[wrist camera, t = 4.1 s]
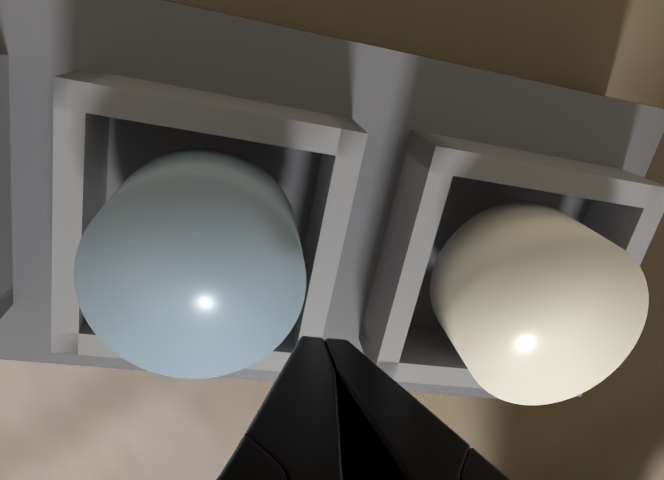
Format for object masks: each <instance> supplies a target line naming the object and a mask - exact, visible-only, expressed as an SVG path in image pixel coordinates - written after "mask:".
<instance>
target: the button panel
mask: <svg viewBox="0 0 664 480" xmlns="http://www.w3.org/2000/svg"><path fill="white" fill-rule="evenodd" d="M663 133H664V109H662V108H657V107H652V106H648V105H643V104H639V103H634V102H629V101H625V100H620V99H616V98H611V97H606V96H602V95H597V94H593V93H588V92H583V91H579V90H574V89H570V88H565V87H560V86H556V85H551V84H547V83H542V82H537V81H533V80H528V79H524V78H519V77H514V76H510V75H505V74H501V73H496V72H491V71H487V70H482V69H478V68H473V67H468V66H464V65H459V64H455V63H450V62H445V61H441V60H436V59H432V58H427V57H422V56H418V55H413V54H409V53H404V52H399V51H395V50H390V49H386V48H381V47H376V46H372V45H367V44H363V43H358V42H353V41H349V40H344V39H340V38H335V37H330V36H326V35H321V34H317V33H312V32H307V31H303V30H298V29H294V28H289V27H284V26H280V25H275V24H270V23H266V22H261V21H257V20H252V19H248V18H243V17H238V16H234V15H229V14H224V13H220V12H215V11H211V10H206V9H201V8H197V7H192V6H188V5H183V4H178V3H174V2H169V1H165V0H0V359H6V360H18V361H30V362H43V363H55V364H68V365H80V366H93V367H105V368H118V369H130V370H143V371H148V370H145V369H142V368H140V367H138V366H136V365H134V364H132V363H130V362H128V361H126V360H125V359H123V358H122V357H120V356H119V355H117V354H116V353H115V352H113V351H112V350H111V349H110V348H108V347H107V346H106V345H105V344H104V343H103V342H102V341H101V340H100V339H99V338H98V337H97V335H96V334H95V333H94V331H93V330H92V329H91V327H90V326H89V325H88V323H87V321H86V319H85V317H84V315H83V314H82V312H81V309H80V306H79V303H78V301H77V297H76V292H75V288H74V274H73V271H74V261H75V256H76V252H77V248H78V245H79V242H80V240H81V238H82V236H83V233H84V231H85V230H86V228H87V227H88V225H89V224H90V222H91V221H92V219H93V218H94V217H95V216H96V214H97V213H98V212H99V211H100V210H101V208H102V207H103V206H104V205H105V204H106V203H107V201H108V200H109V199H110V198H111V197H112V195H113V194H114V193H115V192H116V191H117V190H118V188H119V187H120V186H121V185H122V184H123V182H124V181H125V180H126V179H127V178H128V177H129V176H130V175H131V173H133V172H134V171H135V170H136V169H137V168H139V167H140V166H141V165H143V164H144V163H146V162H147V161H149V160H151V159H152V158H155V157H157V156H159V155H161V154H164V153H167V152H170V151H174V150H178V149H184V148H198V147H204V148H214V149H219V150H224V151H228V152H231V153H234V154H237V155H239V156H242V157H244V158H246V159H248V160H250V161H251V162H253V163H255V164H256V165H258V166H259V167H261V168H262V169H263V170H265V171H266V172H267V173H268V174H269V175H270V176H271V177H272V178H273V179H274V180H275V181H276V182H277V183H278V185H279V186H280V187H281V189H282V190H283V192H284V193H285V195H286V196H287V198H288V200H289V202H290V204H291V206H292V209H293V212H294V216H295V219H296V224H297V228H298V233H299V238H300V243H301V248H302V253H303V257H304V263H305V269H306V292H305V299H304V302H303V306H302V310H301V312H300V314H299V317H298V319H297V321H296V323H295V325H294V326H293V328H292V330H291V331H290V333H289V334H288V335H287V336H286V338H285V339H284V340H283V341H282V343H281V344H280V345H278V346H277V347H276V348H275V349H274V350H273V351H272V352H271V353H269V354H268V355H267V356H265V357H264V358H263V359H261V360H260V361H258V362H256V363H254V364H253V365H251V366H249V367H246V368H244V369H242V370H239V371H237V372H233V373H230V374H227V375H223V376H218V377H230V378H243V379H255V380H268V381H276V379H277V377H278V375H279V374H280V372H281V370H282V368H283V367H284V365H285V363H286V361H287V360H288V358H289V356H290V354H291V352H292V351H293V349H294V347H295V345H296V344H297V342H298V340H299V339H300V337H302V336H311V337H321V338H323V339H324V340H325V339H327V338H334V339H345V340H348V341H349V342H350V343H351V344H353V345H354V346H355V347H356V348H357V349H358V350H360V351H361V352H362V353H363V354H364V355H365V356H367V357H368V358H369V359H370V360H371V361H372V362H374V363H375V364H376V365H377V366H378V367H379V368H381V369H382V370H383V371H384V372H385V373H386V374H388V375H389V376H390V377H391V378H392V379H393V380H395V381H396V382H397V383H398V384H399V385H400V386H402V387H403V388H404V389H405V390H406V391H407V392H418V393H430V394H443V395H455V396H468V397H480V398H493V399H499V398H497V397H495V396H493V395H491V394H490V393H488V392H487V391H486V390H484V389H483V388H482V387H481V386H480V385H479V384H478V383H477V381H476V380H475V379H474V378H473V376H472V375H471V373H470V371H469V370H468V368H467V367H466V365H465V363H464V362H463V360H462V358H461V357H460V355H459V354H458V352H457V350H456V349H455V347H454V346H453V344H452V342H451V341H450V339H449V337H448V336H447V334H446V333H445V331H444V329H443V328H442V326H441V325H440V323H439V321H438V319H437V318H436V316H435V314H434V311H433V308H432V304H431V300H430V279H431V275H432V270H433V267H434V264H435V262H436V259H437V257H438V255H439V253H440V251H441V249H442V248H443V246H444V245H445V243H446V242H447V240H448V239H449V238H450V237H451V236H452V235H453V233H454V232H455V231H456V230H457V229H458V228H460V227H461V226H462V225H463V224H464V223H465V222H467V221H468V220H469V219H471V218H472V217H474V216H475V215H477V214H479V213H481V212H482V211H484V210H487V209H489V208H491V207H494V206H497V205H500V204H504V203H509V202H515V201H533V202H539V203H543V204H547V205H550V206H552V207H555V208H557V209H558V210H560V211H562V212H563V213H565V214H566V215H568V216H570V217H571V218H573V219H575V220H576V221H578V222H580V223H581V224H583V225H585V226H586V227H588V228H590V229H591V230H593V231H595V232H596V233H598V234H599V235H601V236H603V237H604V238H606V239H608V240H609V241H611V242H613V243H614V244H616V245H618V246H619V247H621V248H623V249H624V250H625V251H627V252H628V253H629V254H630V255H631V256H632V257H633V258H634V259H635V260H636V262H637V263H638V264H639V266H640V265H641V262H642V260H643V258H644V256H645V254H646V251H647V249H648V247H649V245H650V242H651V240H652V238H653V236H654V234H655V231H656V229H657V227H658V225H659V222H660V220H661V218H662V216H663V213H664V185H662V184H659V183H657V182H654V181H652V180H649V179H646V178H645V176H646V173H647V171H648V169H649V166H650V164H651V161H652V159H653V157H654V154H655V152H656V150H657V147H658V145H659V143H660V140H661V138H662V136H663ZM582 394H583V393H582ZM582 394H579V395H577V396H576V397H581V396H582Z"/></svg>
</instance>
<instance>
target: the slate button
mask: <svg viewBox="0 0 664 480" xmlns="http://www.w3.org/2000/svg"><path fill="white" fill-rule="evenodd" d="M73 274H74V288H75V292H76V297H77V301H78V303H79V306H80V309H81V312H82V314H83V315H84V317H85V319H86V321H87V323H88V325H89V326H90V327H91V329H92V330H93V331H94V333H95V334H96V335H97V337H98V338H99V339H100V340H101V341H102V342H103V343H104V344H105V345H106V346H107V347H108V348H110V349H111V350H112V351H113V352H115V353H116V354H117V355H119V356H120V357H122V358H123V359H125V360H126V361H128V362H130V363H132V364H134V365H136V366H138V367H140V368H142V369H145V370H148V371H150V372H153V373H156V374H160V375H165V376H169V377H176V378H186V379H201V378H212V377H217V376H223V375H227V374H230V373H233V372H237V371H239V370H242V369H244V368H246V367H249V366H251V365H253V364H254V363H256V362H258V361H260V360H261V359H263V358H264V357H265V356H267V355H268V354H269V353H271V352H272V351H273V350H274V349H275V348H276V347H277V346H278V345H280V344H281V343H282V341H283V340H284V339H285V338H286V336H287V335H288V334H289V333H290V331H291V330H292V328H293V326H294V325H295V323H296V321H297V319H298V317H299V314H300V312H301V310H302V306H303V302H304V299H305V292H306V269H305V263H304V257H303V253H302V248H301V243H300V238H299V233H298V228H297V224H296V219H295V216H294V212H293V209H292V206H291V204H290V202H289V200H288V198H287V196H286V195H285V193H284V192H283V190H282V189H281V187H280V186H279V185H278V183H277V182H276V181H275V180H274V179H273V178H272V177H271V176H270V175H269V174H268V173H267V172H266V171H265V170H263V169H262V168H261V167H259V166H258V165H256V164H255V163H253V162H251V161H250V160H248V159H246V158H244V157H242V156H239V155H237V154H234V153H231V152H228V151H224V150H219V149H214V148H204V147H198V148H184V149H178V150H174V151H170V152H167V153H164V154H161V155H159V156H157V157H155V158H152V159H151V160H149V161H147V162H146V163H144V164H143V165H141V166H140V167H139V168H137V169H136V170H135V171H134V172H133V173H131V175H130V176H129V177H128V178H127V179H126V180H125V181H124V182H123V184H122V185H121V186H120V187H119V188H118V190H117V191H116V192H115V193H114V194H113V195H112V197H111V198H110V199H109V200H108V201H107V203H106V204H105V205H104V206H103V207H102V208H101V210H100V211H99V212H98V213H97V214H96V216H95V217H94V218H93V219H92V221H91V222H90V224H89V225H88V227H87V228H86V230H85V231H84V233H83V236H82V238H81V240H80V242H79V245H78V248H77V252H76V256H75V261H74V271H73Z"/></svg>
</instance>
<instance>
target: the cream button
mask: <svg viewBox="0 0 664 480" xmlns="http://www.w3.org/2000/svg"><path fill="white" fill-rule="evenodd" d="M430 300H431V304H432V308H433V311H434V314H435V316H436V318H437V319H438V321H439V323H440V325H441V326H442V328H443V329H444V331H445V333H446V334H447V336H448V337H449V339H450V341H451V342H452V344H453V346H454V347H455V349H456V350H457V352H458V354H459V355H460V357H461V358H462V360H463V362H464V363H465V365H466V367H467V368H468V370H469V371H470V373H471V375H472V376H473V378H474V379H475V380H476V381H477V383H478V384H479V385H480V386H481V387H482V388H483V389H484V390H486V391H487V392H488V393H490V394H491V395H493V396H495V397H497V398H499V399H501V400H503V401H506V402H510V403H514V404H520V405H546V404H551V403H556V402H560V401H564V400H567V399H570V398H572V397H575V396H577V395H579V394H582V393H583V392H585V391H587V390H589V389H591V388H593V387H594V386H596V385H597V384H599V383H600V382H602V381H603V380H604V379H605V378H607V377H608V376H609V375H610V374H612V373H613V372H614V371H615V370H616V369H617V368H618V367H619V366H620V365H621V364H622V362H623V361H624V360H625V359H626V358H627V356H628V355H629V354H630V352H631V351H632V349H633V348H634V346H635V345H636V343H637V341H638V339H639V337H640V335H641V333H642V330H643V328H644V325H645V321H646V318H647V313H648V306H649V292H648V286H647V282H646V279H645V276H644V273H643V271H642V269H641V268H640V266H639V264H638V263H637V262H636V260H635V259H634V258H633V257H632V256H631V255H630V254H629V253H628V252H627V251H625V250H624V249H623V248H621V247H619V246H618V245H616V244H614V243H613V242H611V241H609V240H608V239H606V238H604V237H603V236H601V235H599V234H598V233H596V232H595V231H593V230H591V229H590V228H588V227H586V226H585V225H583V224H581V223H580V222H578V221H576V220H575V219H573V218H571V217H570V216H568V215H566V214H565V213H563V212H562V211H560V210H558V209H557V208H555V207H552V206H550V205H547V204H543V203H539V202H533V201H515V202H509V203H504V204H500V205H497V206H494V207H491V208H489V209H487V210H484V211H482V212H481V213H479V214H477V215H475V216H474V217H472V218H471V219H469V220H468V221H467V222H465V223H464V224H463V225H462V226H461V227H460V228H458V229H457V230H456V231H455V232H454V233H453V235H452V236H451V237H450V238H449V239H448V240H447V242H446V243H445V245H444V246H443V248H442V249H441V251H440V253H439V255H438V257H437V259H436V262H435V264H434V267H433V270H432V275H431V279H430Z"/></svg>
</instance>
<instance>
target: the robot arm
mask: <svg viewBox="0 0 664 480" xmlns="http://www.w3.org/2000/svg"><path fill="white" fill-rule="evenodd" d="M216 480H511V479H510V478H509V477H508V476H506V475H505V474H504V473H503V472H501V471H500V470H499V469H498V468H497V467H495V466H494V465H493V464H492V463H491V462H489V461H488V460H487V459H486V458H485V457H484V456H482V455H481V454H480V453H479V452H478V451H477V450H475V449H474V448H470V445H469V444H468V443H467V442H466V441H465V440H463V439H462V438H461V437H460V436H459V435H458V434H456V433H455V432H454V431H453V430H452V429H451V428H449V427H448V426H447V425H446V424H445V423H444V422H442V421H441V420H440V419H439V418H438V417H437V416H435V415H434V414H433V413H432V412H431V411H430V410H428V409H427V408H426V407H425V406H424V405H423V404H421V403H420V402H419V401H418V400H417V399H416V398H414V397H413V396H412V395H411V394H410V393H409V392H407V391H406V390H405V389H404V388H403V387H402V386H400V385H399V384H398V383H397V382H396V381H395V380H393V379H392V378H391V377H390V376H389V375H388V374H386V373H385V372H384V371H383V370H382V369H381V368H379V367H378V366H377V365H376V364H375V363H374V362H372V361H371V360H370V359H369V358H368V357H367V356H365V355H364V354H363V353H362V352H361V351H360V350H358V349H357V348H356V347H355V346H354V345H353V344H351V343H350V342H349V341H348V340H345V339H334V338H327V339H325V340H324V339H323V338H321V337H311V336H302V337H300V339H299V340H298V342H297V344H296V345H295V347H294V349H293V351H292V352H291V354H290V356H289V358H288V360H287V361H286V363H285V365H284V367H283V368H282V370H281V372H280V374H279V375H278V377H277V379H276V381H275V382H274V384H273V386H272V388H271V389H270V391H269V393H268V395H267V396H266V398H265V400H264V402H263V403H262V405H261V407H260V409H259V410H258V412H257V414H256V416H255V417H254V419H253V421H252V423H251V424H250V426H249V428H248V430H247V431H246V433H245V435H244V437H243V438H242V440H241V441H240V443H239V445H238V447H237V448H236V450H235V452H234V453H233V455H232V457H231V458H230V460H229V461H228V463H227V464H226V466H225V468H224V469H223V471H222V472H221V474H220V475H219V477H218V478H217V479H216Z"/></svg>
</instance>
